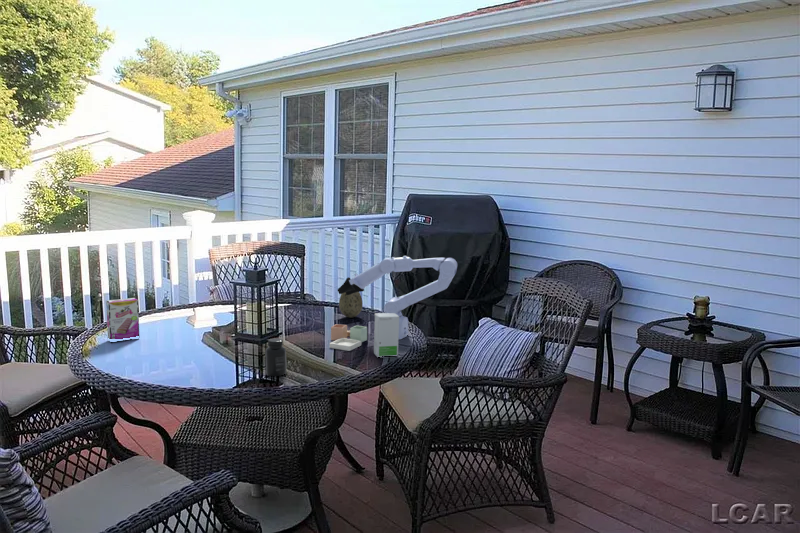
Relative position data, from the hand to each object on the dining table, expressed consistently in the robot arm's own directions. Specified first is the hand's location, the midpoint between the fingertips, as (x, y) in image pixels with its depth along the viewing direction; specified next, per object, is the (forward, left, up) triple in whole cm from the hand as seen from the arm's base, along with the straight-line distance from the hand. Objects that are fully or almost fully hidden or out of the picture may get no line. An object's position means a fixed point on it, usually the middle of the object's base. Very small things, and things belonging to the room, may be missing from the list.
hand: (342, 292), depth 273 cm
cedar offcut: (-6, +1, -18) cm, 19 cm away
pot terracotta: (-4, +9, -17) cm, 20 cm away
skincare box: (-31, +19, -18) cm, 40 cm away
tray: (-12, +17, -17) cm, 27 cm away
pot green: (-12, +7, -17) cm, 22 cm away
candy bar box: (+69, +53, -18) cm, 89 cm away
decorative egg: (+11, -25, -18) cm, 33 cm away
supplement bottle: (-9, +57, -18) cm, 60 cm away
